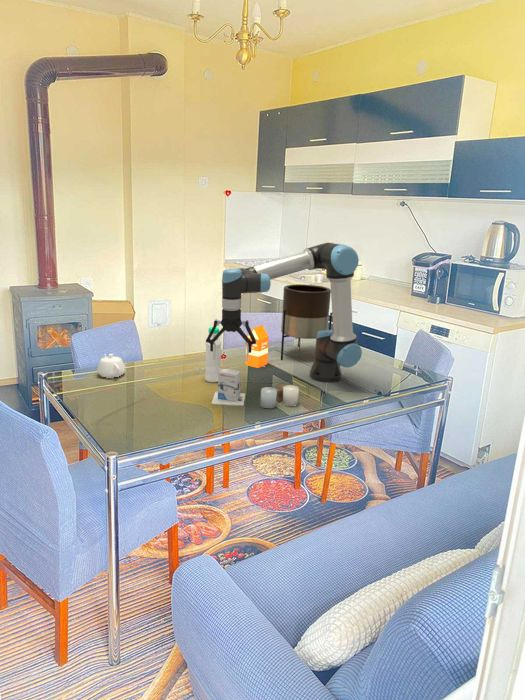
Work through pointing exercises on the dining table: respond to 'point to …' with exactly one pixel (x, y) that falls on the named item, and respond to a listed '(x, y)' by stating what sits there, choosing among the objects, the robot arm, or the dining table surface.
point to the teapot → (111, 366)
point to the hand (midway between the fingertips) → (230, 359)
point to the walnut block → (279, 393)
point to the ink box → (229, 384)
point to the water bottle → (212, 365)
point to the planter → (305, 311)
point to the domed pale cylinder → (268, 397)
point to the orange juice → (258, 348)
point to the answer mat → (228, 401)
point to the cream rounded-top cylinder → (290, 395)
